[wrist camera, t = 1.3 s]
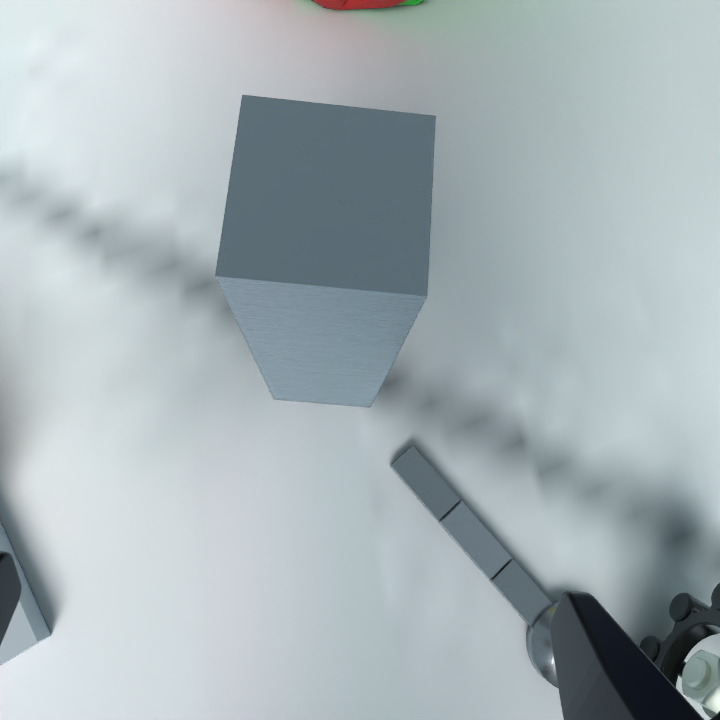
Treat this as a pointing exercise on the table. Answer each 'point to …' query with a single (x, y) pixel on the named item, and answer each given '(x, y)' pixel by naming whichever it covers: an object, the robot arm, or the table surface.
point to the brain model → (363, 3)
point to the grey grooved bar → (485, 556)
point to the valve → (703, 670)
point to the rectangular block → (326, 243)
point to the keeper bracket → (21, 615)
